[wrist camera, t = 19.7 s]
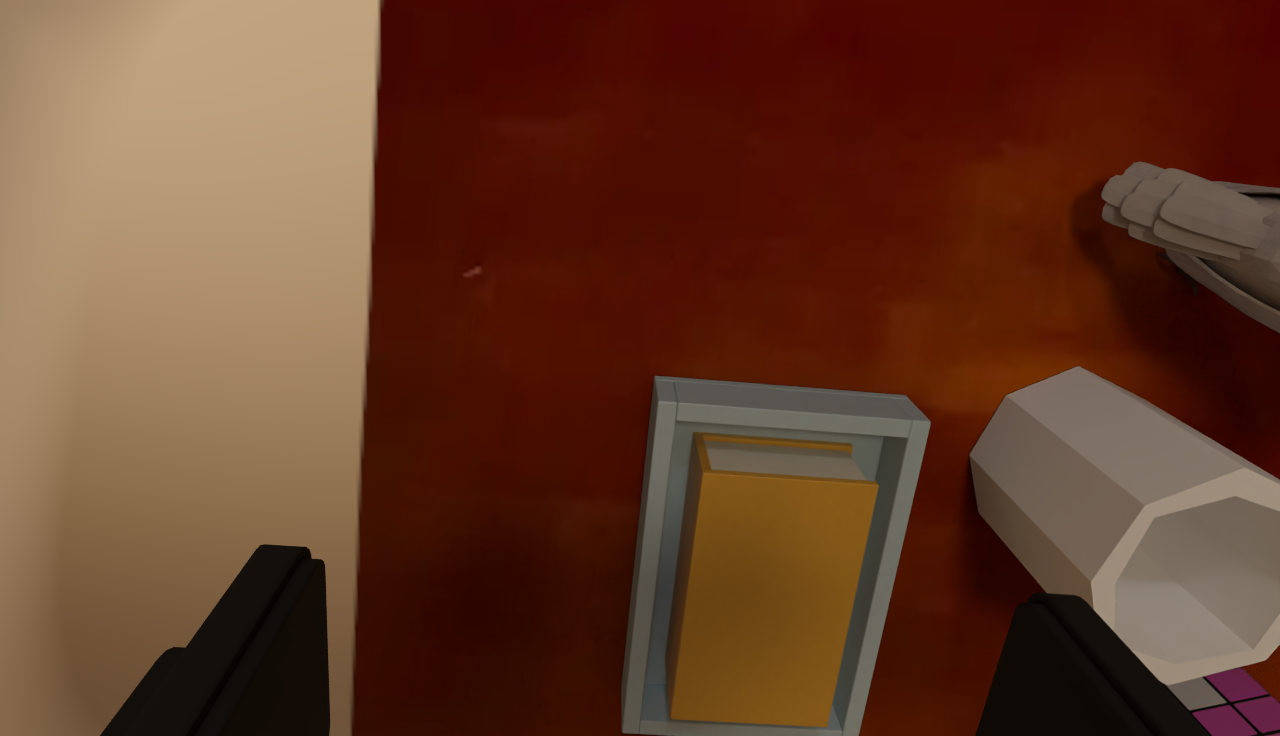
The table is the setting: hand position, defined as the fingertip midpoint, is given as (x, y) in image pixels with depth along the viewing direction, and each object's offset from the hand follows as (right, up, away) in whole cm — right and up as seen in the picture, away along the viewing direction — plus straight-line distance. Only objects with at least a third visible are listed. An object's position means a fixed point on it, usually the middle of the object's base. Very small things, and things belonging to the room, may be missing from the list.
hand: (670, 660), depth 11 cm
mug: (+20, 0, +26) cm, 33 cm away
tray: (+5, -5, +27) cm, 28 cm away
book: (+5, -5, +26) cm, 27 cm away
